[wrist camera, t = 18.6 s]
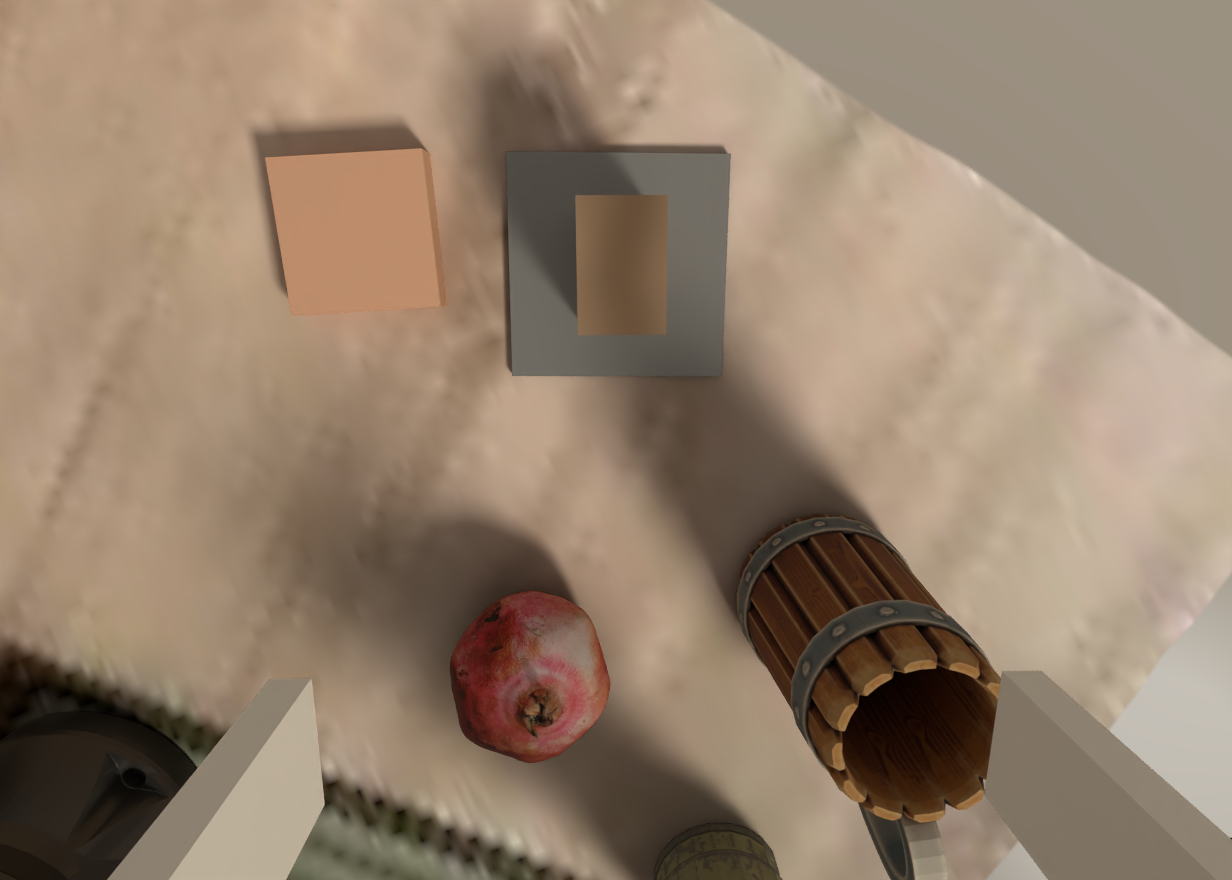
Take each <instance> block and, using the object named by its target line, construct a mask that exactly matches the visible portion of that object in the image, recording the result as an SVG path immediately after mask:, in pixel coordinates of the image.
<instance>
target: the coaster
mask: <svg viewBox="0 0 1232 880" xmlns="http://www.w3.org/2000/svg"><path fill="white" fill-rule="evenodd" d="M730 159H731V154H715V153H624V152H532V151H506V170H507V206H508V242H509V278H510V314H511V349H512V376H722V357H723V333H724V308H725V283H726V258H727V233H728V208H729V183H730ZM575 195H668V222H667V313H666V335H578V319H577V262H576V205H575Z"/></svg>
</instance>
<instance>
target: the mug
mask: <svg viewBox="0 0 1232 880" xmlns="http://www.w3.org/2000/svg"><path fill="white" fill-rule="evenodd" d="M738 579H739V581H740V585H739V588H738V590H737V591H736V601H737V613H738V617H739V620H740V624H741V627H742V631H743V633H744V635H745V637H746V638H747V640H748V642H749V643H750V645H751V647H752V648H753V650H754V652H755V653H756V655H757V656H758V658H759V660H760V661H761V663H762V664H763V665H765V666H766V667H767V668H768V670H769V672H770V674H771V675H772V677H773V679H774V680H775V682H776V684H777V685H778V687H779V689H780V690H781V692H782V694H783V696H784V697H785V699H786V701H787V702H788V704H789V706H790V707H791V709H792V711H793V714H794V718H795V721H796V725H797V726H798V728H799V730H800V731H801V733H802V735H803V737H804V738H805V740H806V742H807V744H808V745H809V747H810V749H811V750H812V752H813V753H814V755H815V756H816V758H817V760H818V761H819V763H820V764H821V766H822V767H823V768H825V769H826V770H827V771H828V772H829V773H830V775H831V777H832V778H833V780H834V782H835V783H836V785H837V786H838V788H839V789H840V790H841V791H842V792H843V793H844V794H845V795H847V796H848V797H849V798H850V799H852V800H853V801H856V802H858V804H859V807H860V809H861V812H862V815H863V818H864V820H865V823H866V825H867V828H868V830H869V833H870V835H871V838H872V840H873V842H874V845H875V847H876V849H877V852H878V854H879V856H880V859H881V861H882V863H883V865H884V867H885V869H886V871H887V873H888V875H889V877H890V879H891V880H948V872H947V865H946V858H945V853H944V848H943V844H942V840H941V836H940V833H939V830H938V826H937V823H936V820H939V819H940V818H942V817H943V816H944V815H945V803H946V804H948V805H950V806H952V807H954V808H956V809H958V810H963V809H968V808H969V807H971V806H973V805H974V804H976V803H977V802H979V801H980V800H981V799H982V797H983V795H984V784H983V779H985V780H986V779H987V772H988V765H989V758H990V751H991V744H992V737H993V730H994V724H995V717H996V710H997V703H998V696H999V689H1000V682H1001V678H1000V677H999V676H998V674H997V673H996V672H995V671H994V670H993V668H992V666H991V664H990V662H989V660H988V658H987V657H986V655H985V653H984V652H983V651H982V650H981V648H980V647H979V646H978V645H977V644H976V642H975V641H974V640H973V639H972V638H971V637H970V635H969V634H968V633H967V632H966V631H965V630H964V629H963V628H962V627H961V626H960V625H959V624H958V623H957V622H956V621H955V620H954V619H953V618H952V617H951V616H949V615H947V614H946V613H945V611H944V610H943V609H942V608H941V607H940V605H939V604H938V603H937V602H936V601H935V599H934V598H933V597H932V596H931V595H930V593H929V592H928V591H927V590H926V589H925V588H924V586H923V585H922V584H921V583H920V582H919V580H918V579H917V578H916V577H915V576H914V574H913V573H912V571H911V569H910V567H909V566H908V564H907V562H906V560H905V559H904V558H903V556H902V555H901V554H900V553H899V552H898V550H897V549H896V548H895V547H894V546H893V545H892V544H891V543H890V542H889V541H888V540H887V539H886V538H885V537H884V536H883V535H882V534H881V533H880V532H878V531H876V530H875V529H873V528H871V527H869V526H867V525H866V524H864V523H862V522H859V521H857V520H855V519H852V518H849V517H845V516H841V515H839V516H836V517H829V516H828V515H827V514H817V515H809V516H805V517H801V518H796V519H795V520H794V521H793V522H792V523H791V524H790V525H788V524H782V525H781V526H779V527H778V528H776V529H774V530H773V531H771V532H770V533H769V534H768V535H766V536H765V537H764V538H763V539H762V540H761V541H760V542H759V546H758V549H756V550H754V551H752V552H751V553H750V554H749V556H748V558H747V559H746V561H745V563H744V565H743V567H742V570H741V573H740V575H739V578H738Z"/></svg>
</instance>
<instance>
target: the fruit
mask: <svg viewBox="0 0 1232 880" xmlns="http://www.w3.org/2000/svg"><path fill="white" fill-rule="evenodd" d="M450 674H451V683H452V691H453V695H454V700H455V704H456V709H457V713H458V718H459V724H460V727H461V730H462V732H463V734H464V735H465V736H466V737H467V738H468V739H469V740H470V741H472V742H473V743H475V744H477V745H478V746H480V747H482V748H485V749H488V750H491V751H494V752H497V753H500V754H503V755H506V756H509V757H512V758H515V759H517V760H520V761H523V762H527V763H536V762H540V761H543V760H546V759H549V758H552V757H555V756H558V755H559V754H561V753H562V752H563V751H565V750H566V749H567V748H568V747H569V746H570V745H571V744H572V743H573V742H575V741H576V740H577V739H578V738H579V737H581V736H582V735H583V734H584V733H585V732H586V731H587V730H588V729H590V728H591V727H592V726H593V724H594V723H595V722H596V721H597V719H598V718H599V716H600V715H601V713H602V711H603V710H604V708H605V705H606V703H607V700H608V695H609V690H610V679H609V675H608V671H607V667H606V664H605V660H604V657H603V653H602V649H601V646H600V643H599V640H598V637H597V634H596V631H595V628H594V625H593V623H592V621H591V619H590V618H589V616H588V615H587V613H586V612H585V611H584V610H582V609H581V608H580V607H578V606H577V605H575V604H573V603H571V602H570V601H568V600H566V599H564V598H561V597H559V596H555V595H550V594H546V593H543V592H539V591H525V592H519V593H514V594H512V595H509V596H506V597H503V598H501V599H499V600H497V601H496V602H494V603H493V604H492V605H490V606H489V607H488V608H487V609H486V610H485V611H484V612H483V613H481V614H480V615H479V616H478V617H477V618H476V619H475V620H474V621H473V622H472V624H471V625H470V626H469V627H468V628H467V629H466V631H465V632H464V634H463V636H462V637H461V639H460V640H459V642H458V643H457V645H456V647H455V649H454V651H453V654H452V657H451V662H450Z"/></svg>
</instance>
